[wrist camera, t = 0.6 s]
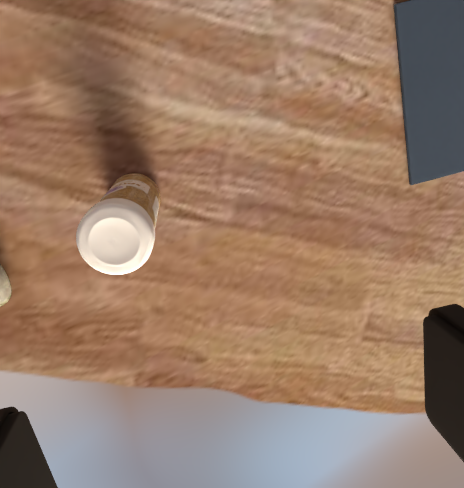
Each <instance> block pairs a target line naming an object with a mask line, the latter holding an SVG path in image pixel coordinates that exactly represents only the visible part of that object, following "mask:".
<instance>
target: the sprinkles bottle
mask: <svg viewBox="0 0 464 488" xmlns="http://www.w3.org/2000/svg"><path fill="white" fill-rule="evenodd" d="M160 200H161V199H160V192H159V190H158V187H157V185H156V184H155V183H154V182H153V181H152V180H151V179H150V178H148V177H146V176H144V175H142V174H134V173H132V174H127V175H123V176H122V177H120V178H118V180H117V181H116V182H115V183H114V184H113V186H112V187H111V188H110V189H109V191H108V192H107V193H106V194H105V195H104V196H103V198H102V199H101V200H100V202H99V203H97V204H95V205H94V206H93V207H91V208H90V209H89V211H88V212H87V213H86V214H85V215H84V217H83V218H82V219H81V221H80V223H79V225H78V228H77V233H76V242H77V247H78V250H79V252H80V254H81V256H82V257H83V259H84V260H85V261H86V262H87V263H88V264H89V265H90V266H91V267H93V268H94V269H96V270H98V271H100V272H103V273H106V274H111V275H121V274H127V273H130V272H132V271H135V270H136V269H138V268H139V267H141V266H142V265H143V264H144V263H145V262H146V261H147V259H148V258H149V256H150V254H151V252H152V249H153V245H154V240H155V226H156V221H157V215H158V209H159V205H160Z"/></svg>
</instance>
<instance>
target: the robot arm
mask: <svg viewBox="0 0 464 488" xmlns="http://www.w3.org/2000/svg"><path fill="white" fill-rule="evenodd" d="M423 332H424V380H425V410H426V413H427V416H428V418H429V419H430V422H431V423H432V424H433V426H434V427H435V428H436V429H437V431H438V432H439V433H440V434H441V435H442V436H443V438H444V439H445V440H446V441H447V443H448V444H449V445H450V446H451V447H452V449H453V450H454V451H455V452H456V453H457V455H458V456H459V457H460V458H461V459H462V461H463V462H464V308H463V307H461V306H460V305H457V304H452V305H448V306H443V307H439V308H435V309H432V310H430V312H429V316H428V317H425V318H424V322H423ZM0 488H58V487H57V485H56V483H55V480H54V478H53V476H52V473H51V471H50V469H49V466H48V464H47V462H46V459H45V457H44V454H43V452H42V450H41V447H40V445H39V443H38V440H37V438H36V436H35V433H34V431H33V428H32V426H31V424H30V421H29V419H28V417H27V415H26V413H25V412H23V411H20V412H18V410H17V409H16V408H15V407H8V408H3V409H0Z"/></svg>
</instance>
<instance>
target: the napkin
mask: <svg viewBox="0 0 464 488" xmlns="http://www.w3.org/2000/svg"><path fill="white" fill-rule="evenodd" d="M394 13H395V24H396V35H397V47H398V58H399V69H400V80H401V92H402V103H403V114H404V126H405V137H406V148H407V159H408V171H409V182H410V185H414V184H418V183H421V182H425V181H429V180H432V179H436V178H440V177H444V176H447V175H451V174H455V173H459V172H462V171H464V0H410V1H405V2H401V3H397V4H395V5H394Z"/></svg>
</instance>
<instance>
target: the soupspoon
mask: <svg viewBox="0 0 464 488" xmlns="http://www.w3.org/2000/svg"><path fill="white" fill-rule="evenodd" d="M10 297H11V285H10V281H9V278H8V276H7V274H6V272H5V270H4V269H3V267H2V266H1V264H0V307H1V306H3V305H4V304H5V303H7V302H8V300H9V299H10Z"/></svg>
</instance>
